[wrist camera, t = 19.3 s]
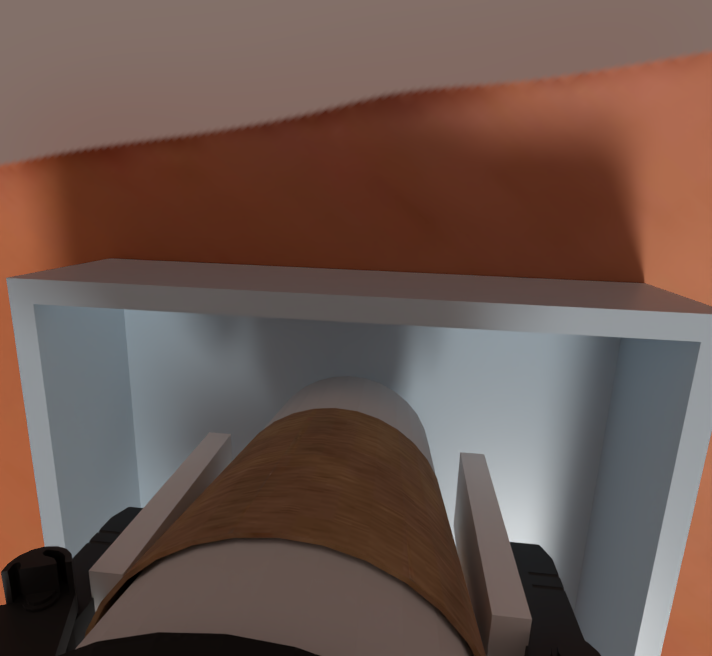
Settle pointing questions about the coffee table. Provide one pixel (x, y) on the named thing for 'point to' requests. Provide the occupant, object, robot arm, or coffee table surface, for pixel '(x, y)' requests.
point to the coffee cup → (305, 546)
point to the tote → (408, 379)
